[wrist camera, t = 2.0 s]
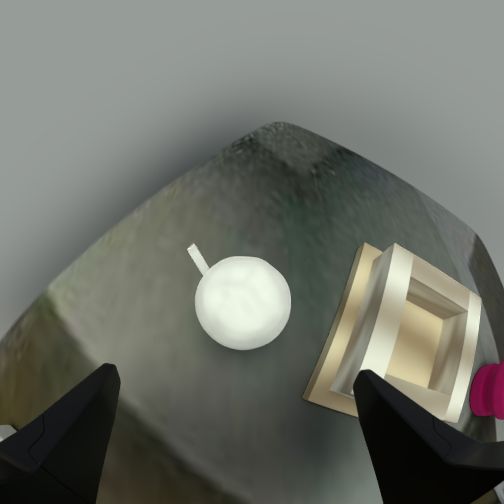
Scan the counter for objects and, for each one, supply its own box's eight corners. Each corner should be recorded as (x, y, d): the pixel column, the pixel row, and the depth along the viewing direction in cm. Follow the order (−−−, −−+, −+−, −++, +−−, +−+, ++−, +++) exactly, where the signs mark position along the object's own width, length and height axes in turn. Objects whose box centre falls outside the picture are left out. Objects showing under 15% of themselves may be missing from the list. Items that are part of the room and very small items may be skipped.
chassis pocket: (424, 433, 17) (459, 438, 13) (301, 398, 18) (325, 406, 14) (456, 305, 23) (488, 291, 18) (357, 249, 24) (384, 223, 19)
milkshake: (221, 279, 21) (224, 210, 12) (275, 320, 21) (321, 281, 11) (183, 322, 20) (153, 284, 11) (240, 367, 19) (259, 369, 10)
